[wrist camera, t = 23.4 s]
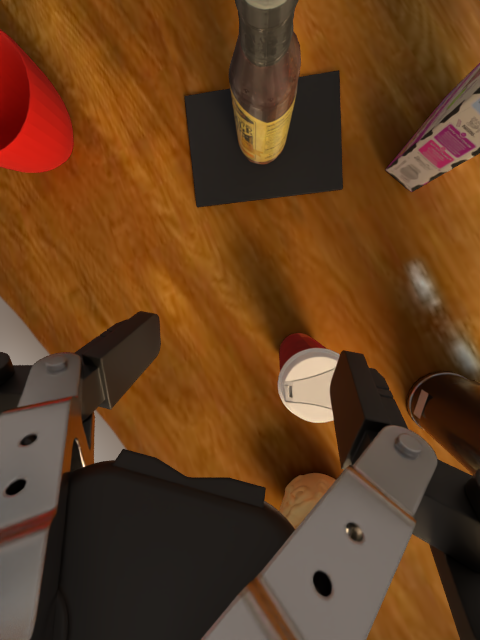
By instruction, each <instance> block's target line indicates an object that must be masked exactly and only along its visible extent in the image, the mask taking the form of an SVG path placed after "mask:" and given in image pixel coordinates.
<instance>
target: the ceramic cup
mask: <svg viewBox="0 0 480 640" xmlns="http://www.w3.org/2000/svg"><path fill="white" fill-rule="evenodd" d="M72 150H73V129H72V124H71V120H70V116H69V114H68V111H67V109H66V107H65V104H64V102H63V101H62V99H61V97H60V96H59V94H58V92H57V91H56V89H55V88H54V86H53V85H52V83H51V82H50V81H49V79H48V78H47V77H46V76H45V74H44V73H43V72H42V71H41V70H40V69H39V67H38V66H37V65H36V64H35V63H34V62H33V61H32V60H31V58H30V57H29V56H28V55H27V54H26V53H25V52H24V51H23V50H22V49H21V48H20V46H19V45H18V44H17V43H16V42H15V41H14V40H13V39H12V38H11V37H9V36H8V35H7V34H6V33H4V32H3V31H2V30H1V29H0V167H3V168H7V169H11V170H15V171H20V172H31V173H39V172H45V171H49V170H52V169H54V168H56V167H58V166H60V165H61V164H63V163H64V162H65V161H67V159H68V158H69V157H70V155H71V153H72Z"/></svg>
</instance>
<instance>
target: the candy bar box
mask: <svg viewBox="0 0 480 640" xmlns="http://www.w3.org/2000/svg"><path fill="white" fill-rule="evenodd" d="M479 153H480V63H479V64H478V65H477V66H476V67H475V68H474V69H473V70H472V71H471V72H470V73H469V74H468V75H467V76H466V77H465V78H464V79H463V80H462V81H461V82H460V83H459V84H458V85H457V86H456V87H455V88H454V89H453V90H452V91H451V92H450V93H449V94H448V95H447V96H446V97H445V98H444V99H443V101H442V102H441V103H440V104H439V105H438V107H437V108H436V109H435V110H434V112H433V113H432V114H431V115H430V116H429V118H428V119H427V120H426V121H425V122H424V124H423V125H422V126H421V127H420V128H419V130H418V131H417V132H416V133H415V134H414V136H413V137H412V138H411V139H410V141H409V142H408V143H407V144H406V145H405V147H404V148H403V149H402V150H401V151H400V153H399V154H398V155H397V156H396V157H395V159H394V160H393V161H392V162H391V163H390V165H389V166H388V167H387V168H386V171H387V172H388V173H389V174H390V175H392V176H393V177H394V178H395V179H397V180H398V181H399V182H400V183H401V184H402V185H403V186H404V187H405V188H406V189H408V190H409V191H410V192H413V191H415V190H416V189H418V188H420V187H421V186H423V185H425V184H427V183H428V182H430V181H432V180H434V179H435V178H437V177H439V176H441V175H442V174H444V173H446V172H448V171H449V170H451V169H453V168H454V167H456V166H458V165H460V164H461V163H463V162H465V161H467V160H469V159H471V158H472V157H474V156H476V155H478V154H479Z"/></svg>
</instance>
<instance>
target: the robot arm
mask: <svg viewBox="0 0 480 640" xmlns="http://www.w3.org/2000/svg"><path fill="white" fill-rule="evenodd" d="M160 345H161V342H160V323H159V316H158V315H157V314H153V313H148V312H143V311H140V312H138V313H137V314H135V315H134V316H132V317H131V318H130V319H128V320H124V321H122V322H119V323H116V324H115V325H113V326H112V327H110V328H109V329H107V331H105V332H103V333H102V334H100V336H98V337H96V338H95V339H93V340H92V341H91V342H89V343H88V344H86V345H85V346H84V347H82V348H81V349H79V350H78V351H77V352H75V353H70V352H63V353H56V354H52V355H49V356H46V357H44V358H42V359H40V360H39V361H37V362H36V363H35V364H34V365H22V366H21V365H18V366H17V365H16V366H15V365H12V362H11V359H10V357H9V355H8V354H6V353H3V352H0V640H366V638H367V636H368V634H369V632H370V629H371V627H372V625H373V622H374V620H375V618H376V615H377V613H378V611H379V608H380V606H381V604H382V602H383V599H384V597H385V595H386V592H387V590H388V588H389V585H390V583H391V581H392V578H393V576H394V574H395V572H396V569H397V567H398V565H399V562H400V560H401V558H402V555H403V553H404V551H405V549H406V546H407V544H408V542H409V539H410V537H411V535H412V534H414V535H415V536H417V537H419V538H420V539H422V540H424V541H425V542H427V543H429V545H430V548H431V551H432V554H433V557H434V560H435V563H436V566H437V569H438V572H439V575H440V579H441V582H442V585H443V588H444V591H445V594H446V597H447V600H448V603H449V606H450V609H451V612H452V615H453V618H454V622H455V625H456V628H457V631H458V634H459V637H460V640H480V383H479V382H477V381H475V380H468V379H467V378H465V377H463V376H461V375H459V374H456V373H453V372H449V371H439V372H434V373H430V374H428V375H426V376H424V377H422V378H421V379H419V380H418V381H417V382H416V383H415V384H414V385H413V387H412V388H411V390H410V392H409V394H408V398H407V409H408V412H409V415H410V417H411V418H412V420H413V421H414V422H415V423H416V424H417V425H418V426H419V427H421V428H422V429H424V430H425V431H426V432H427V433H428V434H429V435H430V436H431V437H432V438H433V439H435V440H436V441H437V442H438V443H439V444H440V445H441V446H442V447H443V448H444V449H446V450H447V451H448V452H449V453H450V454H451V455H452V456H453V457H454V458H455V459H456V460H458V461H459V462H460V463H461V464H462V465H463V466H464V467H465V468H466V469H467V470H468V471H470V472H471V473H472V474H473V476H472V475H469V474H467V473H465V472H463V471H461V470H459V469H457V468H455V467H452V466H450V465H448V464H446V463H444V462H442V461H440V460H438V459H437V457H436V454H435V452H434V450H433V449H432V447H431V446H430V445H429V444H428V443H427V442H426V441H425V440H424V439H423V438H422V437H420V436H419V435H418V434H416V433H414V432H413V431H411V430H409V429H408V428H407V425H406V423H405V421H404V419H403V417H402V415H401V413H400V410H399V408H398V406H397V404H396V402H395V400H394V399H393V396H392V393H391V391H389V387H388V385H387V383H386V381H385V379H384V378H383V377H382V376H381V375H380V374H379V373H378V372H377V371H376V370H375V369H372V368H369V367H368V365H367V362H366V360H365V357H364V355H363V354H360V353H354V352H349V351H344V350H343V351H342V352H341V354H340V356H339V359H338V362H337V365H336V368H335V371H334V374H333V377H332V379H331V383H330V400H331V406H332V412H333V419H334V425H335V431H336V438H337V444H338V450H339V456H340V463H341V469H345V470H344V471H343V472H342V473H341V475H340V476H339V477H338V478H337V479H336V481H335V482H334V483H333V484H332V486H331V487H330V488H329V489H328V490H327V492H326V493H325V494H324V495H323V497H322V498H321V499H320V500H319V501H318V503H317V504H316V505H315V506H314V508H313V509H312V510H311V511H310V512H309V514H308V515H307V516H306V517H305V519H304V520H303V521H302V522H301V523H300V525H299V526H298V527H297V528H296V529H295V528H294V527H293V525H292V524H291V523H290V522H289V521H288V519H286V518H285V517H284V516H283V515H282V514H281V513H280V512H279V511H278V510H277V509H275V508H274V507H273V506H272V505H270V504H269V503H267V502H265V501H264V498H265V489H266V488H265V487H261V486H257V485H254V484H250V483H246V482H243V481H239V480H235V479H232V478H191V477H186V476H184V475H183V474H181V473H179V472H178V471H176V470H175V469H173V468H172V467H170V466H168V465H167V464H165V463H164V462H162V461H160V460H159V459H157V458H155V457H151V456H147V455H144V454H140V453H137V452H133V451H129V450H126V449H123V450H122V451H121V453H120V454H119V456H118V457H117V459H116V460H115V461H114V460H112V461H103V462H99V463H94V427H95V426H94V425H95V416H94V410H95V409H96V408H97V407H98V406H99V407H103V408H107V409H112V407H113V406H114V405H115V404H116V403H117V402H118V401H119V399H120V398H121V397H122V396H123V395H124V394H125V393H126V391H127V390H128V389H129V388H130V387H131V386H132V384H133V383H134V382H135V381H136V380H137V379H138V378H139V376H140V375H141V374H142V373H143V372H144V371H145V370H146V368H147V367H148V366H149V365H150V364H151V363H152V361H153V360H154V359H155V358H156V357H157V355H158V353H159V350H160Z"/></svg>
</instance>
